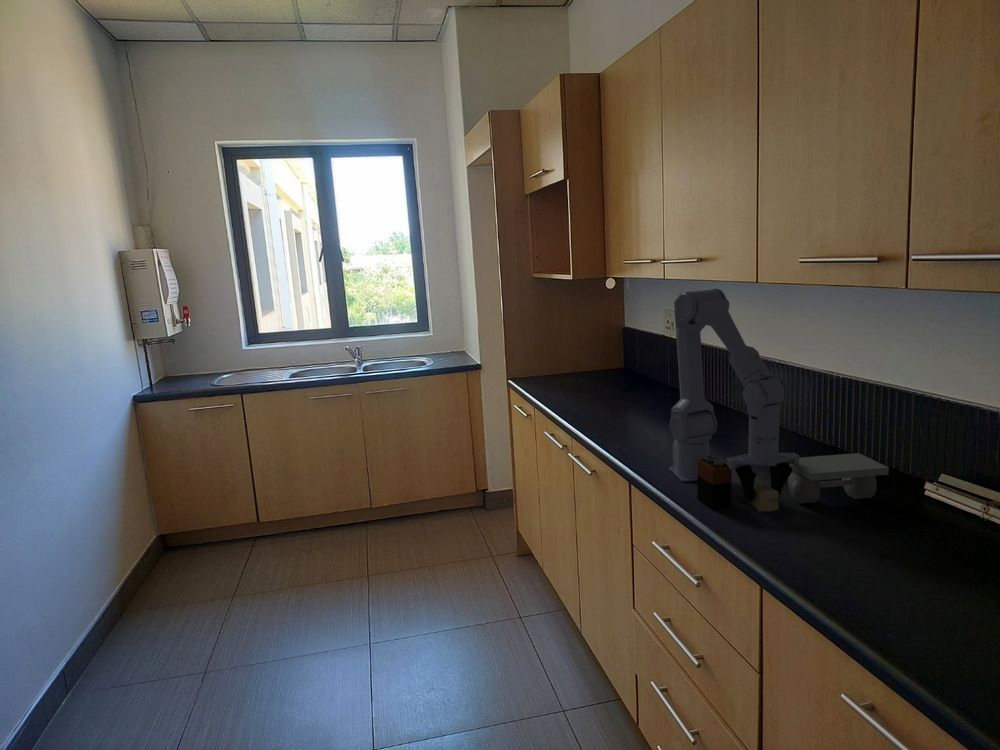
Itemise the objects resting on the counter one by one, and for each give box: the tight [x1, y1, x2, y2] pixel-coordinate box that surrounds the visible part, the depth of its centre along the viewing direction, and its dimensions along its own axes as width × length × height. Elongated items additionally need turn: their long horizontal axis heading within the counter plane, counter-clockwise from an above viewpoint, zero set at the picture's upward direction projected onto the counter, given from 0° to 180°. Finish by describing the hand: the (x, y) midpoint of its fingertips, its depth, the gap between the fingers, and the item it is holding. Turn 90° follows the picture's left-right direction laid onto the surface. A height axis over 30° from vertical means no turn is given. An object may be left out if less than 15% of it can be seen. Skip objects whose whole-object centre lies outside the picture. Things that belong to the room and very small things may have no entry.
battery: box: [696, 454, 733, 510], centre depth 135 cm, size 4×7×10 cm, turn 12°
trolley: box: [787, 452, 890, 505], centre depth 132 cm, size 10×16×8 cm, turn 95°
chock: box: [745, 481, 780, 513], centre depth 133 cm, size 6×4×4 cm, turn 5°
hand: (761, 499), depth 133 cm, fingers open, 5 cm apart
